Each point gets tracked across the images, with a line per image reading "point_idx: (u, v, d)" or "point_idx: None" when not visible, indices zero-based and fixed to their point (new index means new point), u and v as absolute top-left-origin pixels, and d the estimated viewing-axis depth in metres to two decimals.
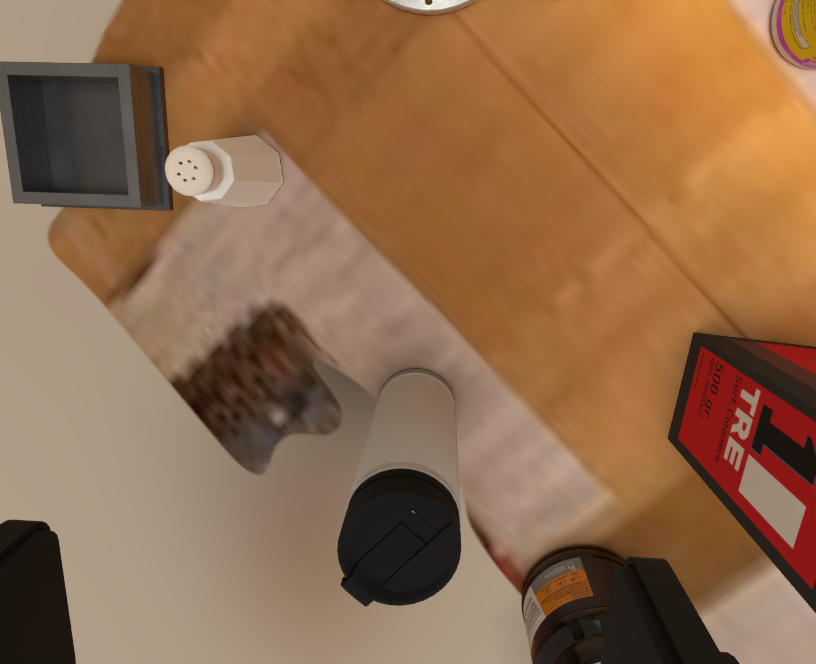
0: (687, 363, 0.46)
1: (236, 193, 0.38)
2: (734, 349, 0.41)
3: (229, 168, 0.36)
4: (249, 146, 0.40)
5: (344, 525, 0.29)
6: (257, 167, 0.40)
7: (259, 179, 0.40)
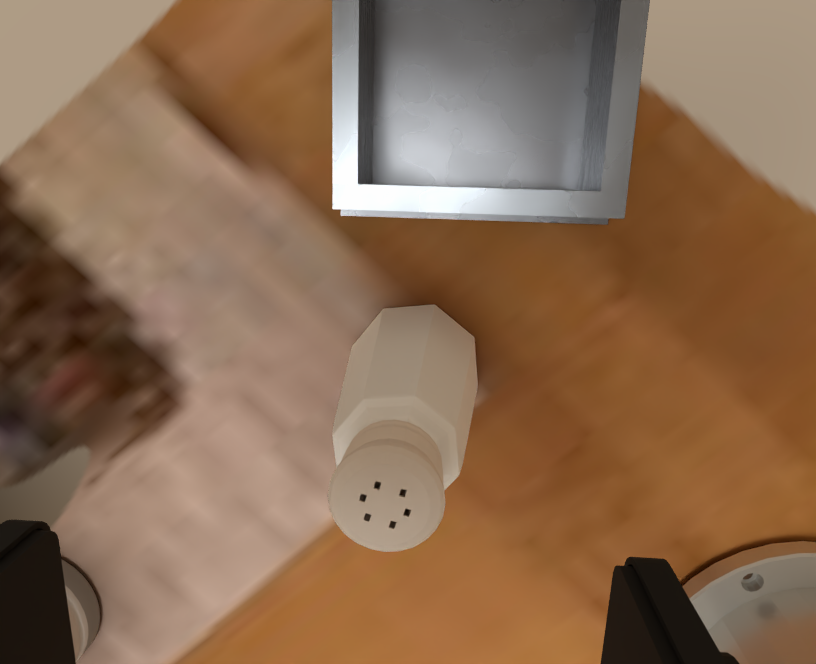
0: None
1: None
2: None
3: None
4: None
5: None
6: None
7: None
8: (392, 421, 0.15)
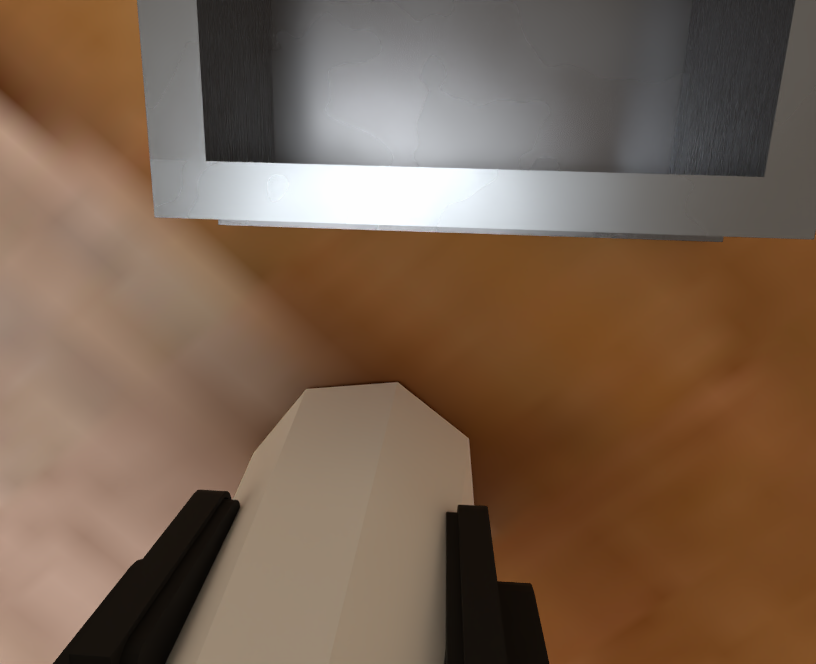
0: None
1: None
2: None
3: None
4: None
5: None
6: None
7: None
8: None
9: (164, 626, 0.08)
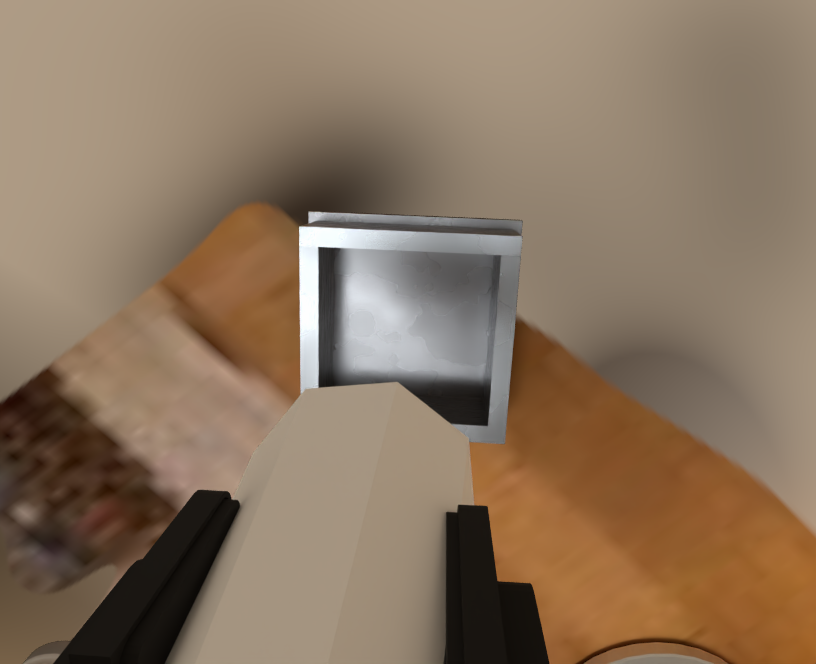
0: None
1: None
2: None
3: None
4: None
5: None
6: None
7: None
8: None
9: (164, 626, 0.08)
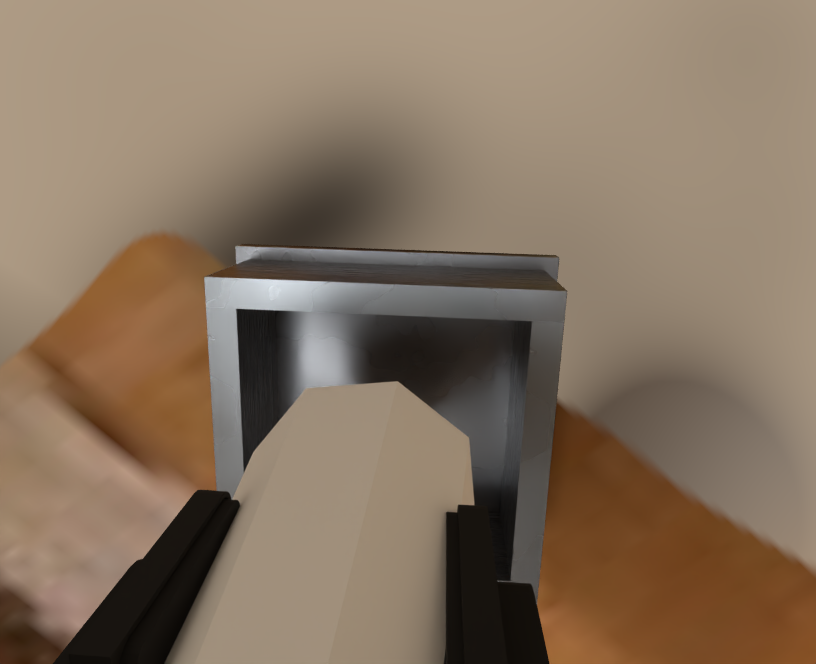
0: None
1: None
2: None
3: None
4: None
5: None
6: None
7: None
8: None
9: (164, 626, 0.08)
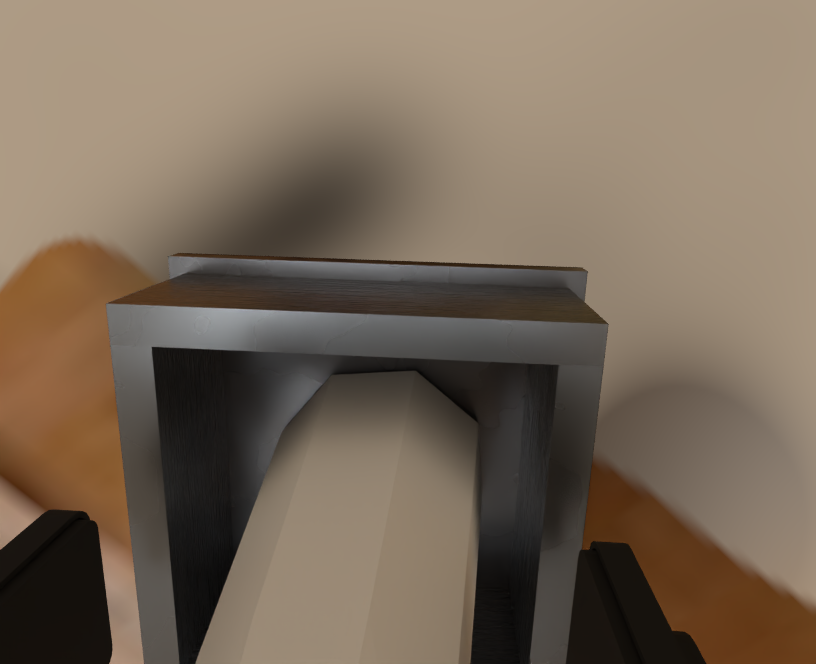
0: None
1: None
2: None
3: None
4: None
5: None
6: None
7: None
8: None
9: None
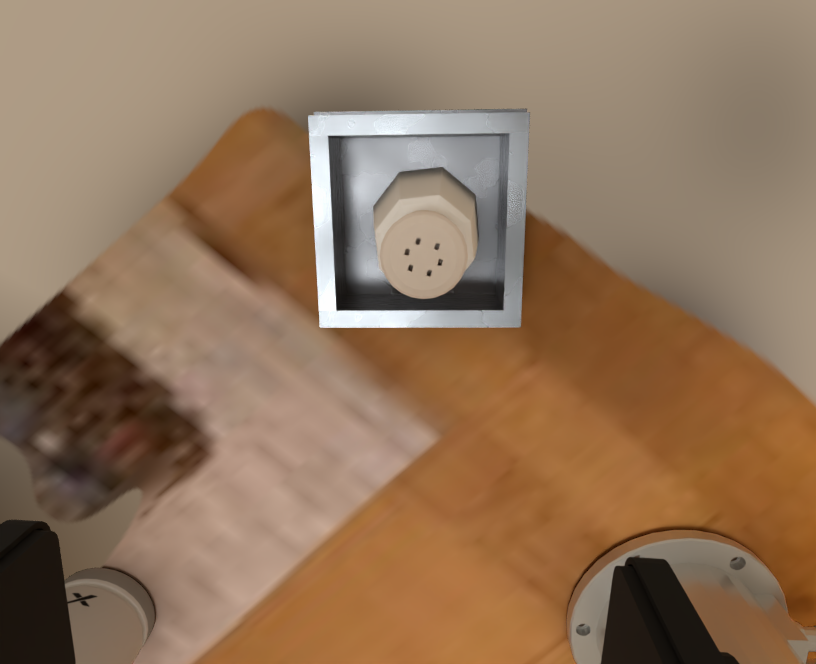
0: None
1: None
2: None
3: None
4: None
5: None
6: None
7: None
8: (423, 210, 0.20)
9: None
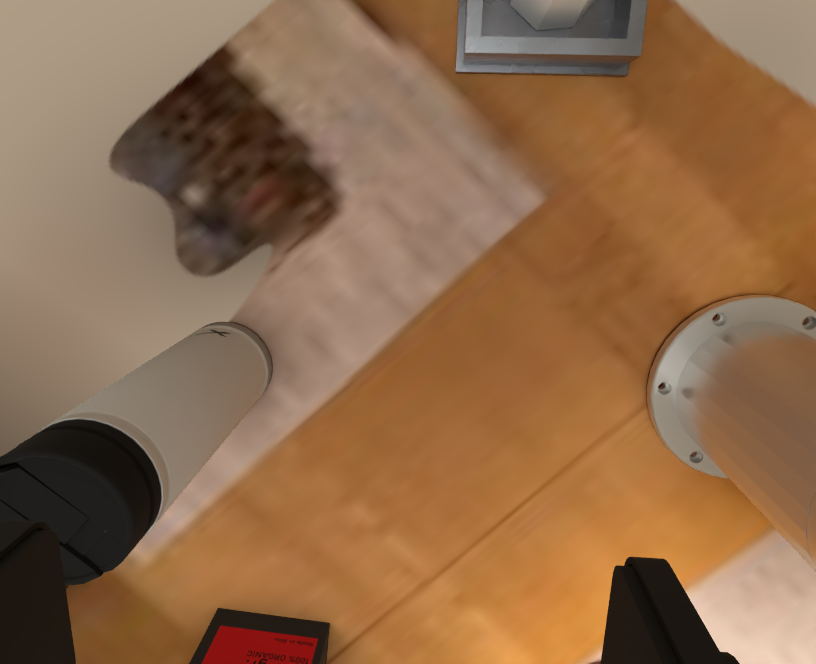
0: (298, 621, 0.46)
1: None
2: None
3: None
4: None
5: (72, 459, 0.22)
6: None
7: (555, 0, 0.30)
8: None
9: None
